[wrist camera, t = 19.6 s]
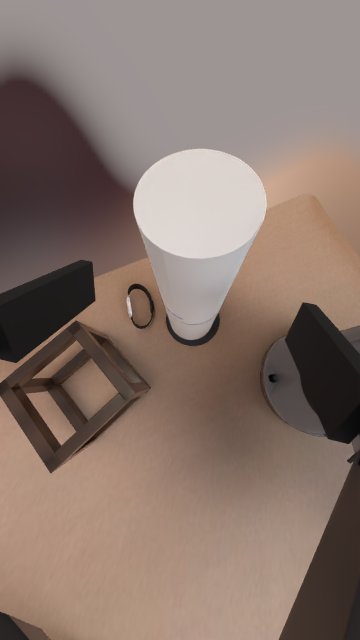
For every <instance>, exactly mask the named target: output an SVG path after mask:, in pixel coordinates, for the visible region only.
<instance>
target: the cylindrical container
mask: <svg viewBox="0 0 360 640" xmlns="http://www.w3.org/2000/svg"><path fill="white" fill-rule="evenodd" d="M133 206H134V215H135V218H136V221H137V224H138V227H139V230H140V233H141V236H142V239H143V242H144V245H145V248H146V251H147V254H148V258H149V261H150V264H151V267H152V270H153V273H154V276H155V279H156V282H157V285H158V288H159V291H160V293H161V296H162V299H163V302H164V306H165V309H166V312H167V315H168V318H169V321H170V324H171V327H172V329H173V330H174V332H175V333H176V334H177V335H178V336H180V337H181V338H183V339H187V340H195V339H199V338H201V337H203V336H204V335H206V334H207V333H208V331H209V330H210V328H211V326H212V324H213V322H214V320H215V318H216V316H217V314H218V312H219V310H220V308H221V306H222V304H223V301H224V299H225V297H226V295H227V293H228V291H229V289H230V287H231V285H232V283H233V281H234V279H235V277H236V275H237V273H238V271H239V269H240V267H241V265H242V263H243V261H244V259H245V257H246V255H247V253H248V251H249V249H250V247H251V245H252V243H253V241H254V238H255V236H256V234H257V232H258V230H259V228H260V226H261V224H262V222H263V220H264V217H265V213H266V208H267V207H266V206H267V203H266V194H265V190H264V186H263V184H262V182H261V180H260V179H259V177H258V175H257V174H256V173H255V172H254V171H253V170H252V168H251V167H249V166H248V165H247V164H246V163H244V162H243V161H242V160H240V159H238V158H236V157H234V156H233V155H230V154H227V153H224V152H221V151H216V150H211V149H191V150H184V151H180V152H177V153H174V154H171V155H169V156H167V157H165V158H163V159H161V160H159V161H158V162H157V163H155V164H154V165H153V166H151V167H150V169H148V171H146V172H145V174H144V175H143V176H142V178H141V180H140V181H139V183H138V185H137V188H136V190H135V194H134V200H133Z"/></svg>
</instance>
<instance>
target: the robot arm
mask: <svg viewBox="0 0 360 640" xmlns="http://www.w3.org/2000/svg"><path fill="white" fill-rule="evenodd" d="M94 301H96V300H95V288H94V276H93V264H92V262H90V261H85V260H80V261H77V262H75V263H72V264H70V265H68V266H65V267H63V268H61V269H58V270H56V271H53V272H51V273H49V274H47V275H44V276H42V277H39V278H37V279H35V280H32V281H30V282H27V283H25V284H23V285H20V286H18V287H16V288H13V289H11V290H8V291H6V292H4V293H1V294H0V359H1V360H5V361H9V362H14V363H17V362H18V361H20V360H21V359H22V358H23V357H25V356H26V355H27V354H28V353H30V352H31V351H32V350H34V349H35V348H36V347H37V346H39V345H40V344H41V343H42V342H44V341H45V340H46V339H48V338H49V337H50V336H51V335H53V334H54V333H55V332H56V331H58V330H59V329H60V328H61V327H63V326H64V325H65V324H67V323H68V322H69V321H70V320H72V319H73V318H74V317H75V316H77V315H78V314H79V313H80V312H82V311H83V310H84V309H86V308H87V307H88V306H89V305H91V304H92V303H93V302H94ZM260 378H261V385H262V389H263V393H264V395H265V398H266V400H267V402H268V403H269V405H270V407H271V408H272V409H273V411H274V412H275V413H276V414H277V415H278V416H279V417H280V418H281V419H282V420H283V421H285V422H286V423H287V424H289V425H290V426H292V427H294V428H296V429H298V430H300V431H302V432H305V433H307V434H310V435H314V436H320V437H327V438H328V439H330V440H334V441H338V442H342V443H347V444H349V443H350V442H351V441H352V445H353V448H354V452H355V454H354V455H353V456H352V457H351V458H350V459H348V460H347V461H348V462H349V463H352V462H353V461H354V462H353V464H352V467H351V469H350V471H349V474H348V476H347V478H346V481H345V483H344V486H343V488H342V490H341V493H340V495H339V497H338V500H337V502H336V505H335V507H334V509H333V512H332V514H331V516H330V519H329V521H328V524H327V526H326V528H325V531H324V533H323V536H322V538H321V540H320V543H319V545H318V547H317V550H316V552H315V555H314V557H313V559H312V562H311V564H310V566H309V569H308V571H307V574H306V576H305V578H304V581H303V583H302V585H301V588H300V590H299V593H298V595H297V597H296V600H295V602H294V605H293V607H292V609H291V612H290V614H289V616H288V619H287V621H286V624H285V626H284V628H283V631H282V633H281V635H280V638H279V640H360V326H357V327H353V328H350V329H346V330H343V331H339V330H338V329H337V328H336V326H335V325H334V324H333V323H332V322H331V321H330V320H329V319H328V317H327V316H326V315H325V314H324V313H323V312H322V311H321V309H320V308H319V307H318V306H317V305H314V304H309V303H304V302H303V303H302V305H301V307H300V309H299V311H298V314H297V316H296V318H295V320H294V322H293V324H292V326H291V328H290V330H289V332H288V334H287V335H285V336H283V337H281V338H279V339H278V340H277V341H275V342H274V343H273V344H272V345H271V346H270V347H269V349H268V350H267V352H266V354H265V356H264V358H263V361H262V365H261V372H260ZM0 640H51V639H50V638H49V637H48V636H47V635H46V634H45V633H44V632H43V630H42V629H40V628H38V627H35V626H33V625H31V624H28V623H26V622H24V621H21V620H19V619H17V618H14V617H12V616H10V615H7V614H5V613H2V612H0Z"/></svg>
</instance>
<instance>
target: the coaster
mask: <svg viewBox="0 0 360 640" xmlns="http://www.w3.org/2000/svg"><path fill="white" fill-rule="evenodd" d="M166 323H167V327H168V330H169V332H170V334H171V335H172V336H173V338H175V339H176V340H177V341H178V342H180V343H182V344H185V345H189V346H197V345H201V344H204V343H206V342H208V341H209V340H210V339H211V338H212V337H213V336H214V335H215V333H216V332H217V330H218V327H219V313H218V314H217V316H216V318H215V320H214V322H213V324H212V326H211V328H210V330H209V331H208V333H207V334H206V335H204V336H203V337H201V338H199V339H195V340H187V339H183V338H181V337H180V336H178V335H177V334H176V333H175V332H174V330H173V329H172V327H171V324H170V321H169V318H168V315H167V317H166Z"/></svg>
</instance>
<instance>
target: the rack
mask: <svg viewBox="0 0 360 640" xmlns="http://www.w3.org/2000/svg"><path fill="white" fill-rule="evenodd" d="M76 340H77V341H78V342H79V343H80V344H81V346H82V347H83V348H84V349H83V350H82V351H81V352H80V353H79V354H78V355H77V356H75V357H74V358H73V359H72V360H71V361H70V362H68V363H67V364H66V365H65V366H64V367H63V368H61V369H60V370H59V371H58V372H57V373H56V374H54V375H53V376H52V377H51V378H35V379H32V378H33V377H34V376H35V375H36V374H37V373H39V372H40V371H41V370H42V369H43V368H45V367H46V366H47V365H48V364H49V363H50V362H52V361H53V360H54V359H55V358H56V357H58V356H59V355H60V354H61V353H62V352H63V351H65V350H66V349H67V348H68V347H69V346H71V345H72V344H73V343H74V342H75V341H76ZM103 348H104V349H103ZM105 351H106V352H107V353H108V354H109V355H108V354H107V353H106V352H105ZM110 357H111V358H112V359H113V360H114V361H113V360H112V359H111V358H110ZM90 358H92V359H93V361H94V362H95V363H96V364H97V366H98V367H99V368H100V369H101V370H102V372H103V373H104V374H105V375H106V377H107V378H108V379H109V380H110V382H111V383H112V384H113V385H114V387H115V388H116V389H117V390H118V392H119V393H118V394H117V395H116V396H115V397H114V398H112V399H111V400H110V401H109V402H108V403H107V404H106V405H105V406H104V407H103V408H102V409H101V410H100V411H98V412H97V413H96V414H95V415H94V416H93V417H92V418H91V419H90V420H89V421H87V419H86V418H85V416H84V415H83V414H82V412H81V411H80V410H79V408H78V407H77V406H76V404H75V403H74V402H73V400H72V399H71V397H70V396H69V395H68V393H67V392H66V391H65V389H64V388H63V387H62V385H61V384H62V383H63V382H64V381H65V380H66V379H67V378H69V377H70V376H71V375H72V374H73V373H74V372H75V371H77V370H78V369H79V368H80V367H81V366H82V365H84V364H85V363H86V362H87V361H88V360H89V359H90ZM115 363H116V364H117V365H118V366H119V367H118V366H117V365H116V364H115ZM120 369H121V370H122V371H123V372H124V373H123V372H122V371H121V370H120ZM125 375H126V376H127V377H128V378H129V379H128V378H127V377H126V376H125ZM129 380H130V381H131V382H132V383H131V382H130V381H129ZM150 388H151V387H150V386H149V385H148V384H147V383H146V381H145V380H144V379H143V378H142V377H141V376H140V374H139V373H138V372H137V371H136V370H135V369H134V367H133V366H132V365H131V364H130V363H129V362H128V360H127V359H126V358H125V357H124V356H123V354H122V353H121V352H120V351H119V350H118V349H117V347H116V346H115V345H114V344H113V343H112V342H111V340H110V339H109V338H108V337H107V336H106V335H105V334H103V333H101V332H99V331H97V330H95V329H92V328H90V327H88V326H86V325H84V324H82V323H80V322H78V321H75V322H73V323H72V324H71V325H70V326H69V327H67V328H66V329H65V330H64V331H63V332H61V333H60V334H59V335H58V336H56V337H55V338H54V339H53V340H52V341H50V342H49V343H48V344H47V345H46V346H44V347H43V348H42V349H41V350H40V351H38V352H37V353H36V354H35V355H34V356H32V357H31V358H30V359H29V360H28V361H26V362H25V363H24V364H23V365H22V366H20V367H19V368H18V369H17V370H15V371H14V372H13V373H12V374H11V375H9V376H8V377H7V378H6V379H5V380H3V381H2V382H1V383H0V396H1V398H2V399H3V401H4V402H5V404H6V405H7V407H8V409H9V410H10V412H11V413H12V415H13V416H14V418H15V419H16V421H17V422H18V424H19V425H20V427H21V429H22V430H23V432H24V433H25V435H26V436H27V438H28V439H29V441H30V442H31V444H32V445H33V447H34V449H35V450H36V452H37V453H38V455H39V456H40V458H41V459H42V461H43V462H44V464H45V466H46V467H47V469H48V470H49V472H50V473H52V472H54V471H55V470H56V469H58V468H59V467H61V466H62V465H63V464H65V463H66V462H67V461H69V460H70V459H72V458H73V457H74V456H76V455H77V454H79V453H80V452H81V451H83V450H84V449H85V448H87V447H88V446H90V445H91V444H92V443H93V442H94V441H96V440H97V439H98V438H99V437H100V436H101V435H102V434H103V433H104V432H105V431H106V430H107V429H108V428H109V427H110V426H111V425H112V424H113V423H114V422H115V421H117V420H118V419H119V418H120V417H121V416H122V415H123V414H124V413H125V412H126V411H127V410H128V409H129V408H130V407H131V406H132V405H133V404H134V403H135V402H137V401H138V400H139V399H140V398H141V397H142V396H143V395H144V394H145V393H146V392H147V391H148V390H149V389H150ZM45 391H48V392H49V394H50V395H51V396H52V398H53V399H54V401H55V402H56V403H57V405H58V406H59V408H60V409H61V410H62V412H63V413H64V415H65V416H66V417H67V419H68V420H69V422H70V423H71V424H72V426H73V427H74V429H75V430H76V431H77V432H76V433H75V434H74V435H73V436H72V437H70V438H69V439H68V440H67V441H66V442H65V443H64V444H63V445H62V446H61V445H60V444H59V442H58V441H57V439H56V438H55V436H54V435H53V433H52V432H51V430H50V429H49V427H48V426H47V424H46V423H45V422H44V420H43V419H42V417H41V416H40V414H39V413H38V411H37V410H36V408H35V407H34V405H33V404H32V403H31V401H30V400H29V398H28V397H27V395H26V394H28V393H36V392H45Z"/></svg>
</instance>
